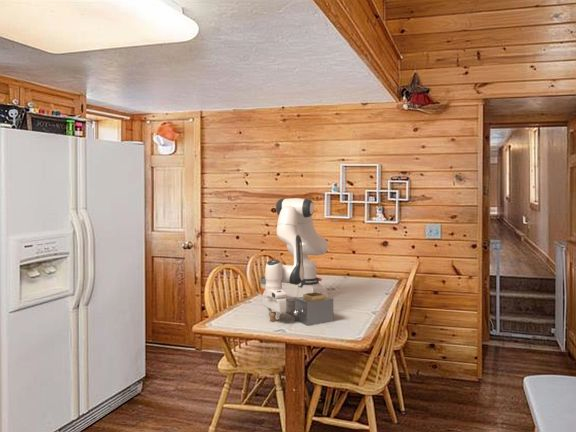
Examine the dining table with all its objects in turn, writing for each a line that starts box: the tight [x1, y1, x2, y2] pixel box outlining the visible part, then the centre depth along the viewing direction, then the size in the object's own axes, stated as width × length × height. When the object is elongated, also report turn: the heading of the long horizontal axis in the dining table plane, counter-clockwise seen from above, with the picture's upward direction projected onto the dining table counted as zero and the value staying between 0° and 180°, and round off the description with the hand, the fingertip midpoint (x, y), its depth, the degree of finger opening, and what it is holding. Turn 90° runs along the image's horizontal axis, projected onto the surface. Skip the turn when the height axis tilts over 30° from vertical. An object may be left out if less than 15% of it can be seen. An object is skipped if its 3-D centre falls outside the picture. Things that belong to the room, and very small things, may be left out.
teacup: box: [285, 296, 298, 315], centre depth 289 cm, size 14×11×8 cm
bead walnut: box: [269, 311, 279, 323], centre depth 272 cm, size 4×4×4 cm
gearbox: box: [292, 292, 334, 327], centre depth 270 cm, size 19×12×14 cm, turn 120°
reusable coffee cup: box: [259, 275, 266, 298], centre depth 312 cm, size 13×13×15 cm
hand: (273, 317), depth 272 cm, fingers open, 6 cm apart
